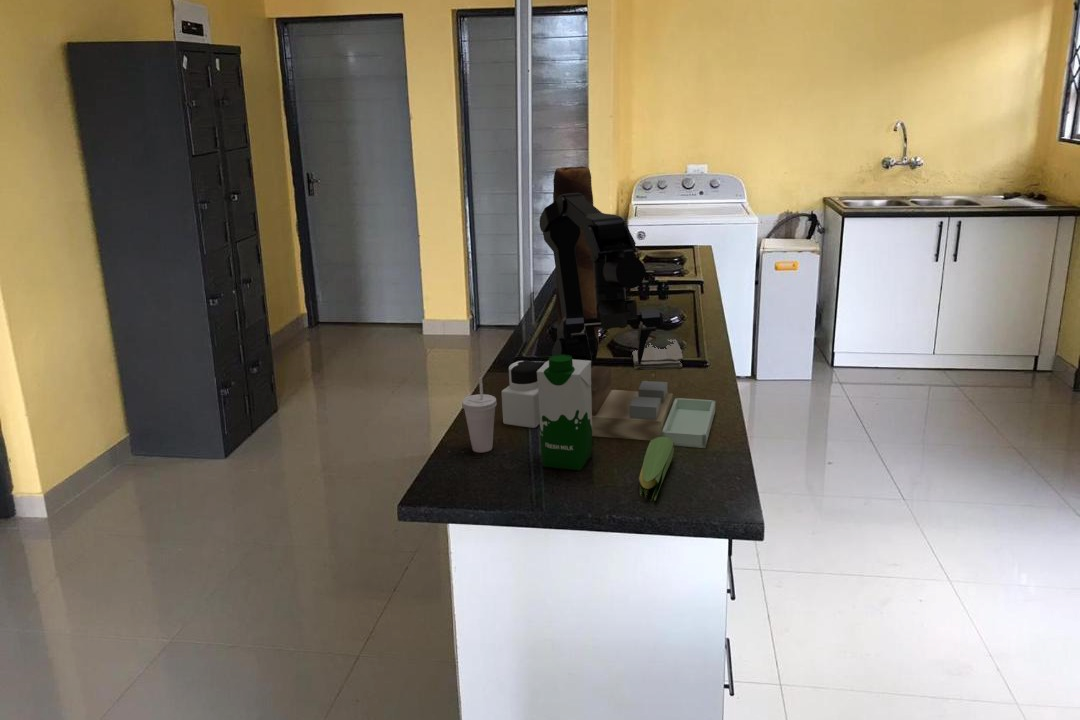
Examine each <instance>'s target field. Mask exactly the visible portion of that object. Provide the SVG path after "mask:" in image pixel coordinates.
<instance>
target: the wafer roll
mask: <svg viewBox="0 0 1080 720" xmlns="http://www.w3.org/2000/svg"><path fill="white" fill-rule="evenodd" d="M591 174H592V173H591V170H590V169H589V167H587V166H569V167H568V166H567V167H565V166H563V167H562V166H561V167H557V168H556V169H555V170H554V174H553V192H552V203H553V202H555V201H556V200H557V198H558V196H561V195H562V194H570V193H580V194H583V195H584V197H585V199H586V200H587V201H588V202H589V203H591V204H592V205H593V206H594V195H593V187H592V175H591ZM580 231H581V235H580V237H579V240H578V242H577V244H576V247H575V252H576V259H577V267H578V274H579V281H580V289H581V296H582V304H583V311H584V316H585V317H586V318H597V310H596V297H595V283H594V269H593V260H591V255H592V252H591V250H590V249H589V247H588V245H587V244H586V242H585V240H584V231H583V230H582V229H581V228H580ZM554 270H556V267H555V269H554ZM555 276H556V280H555V282H556V283H555V285H556V290H555V297H556V309H557V310H556V311H557V319H558V320H557V328H558V327H559V325H560V323H561V321H562V312H561V304H560V297H559V289H558V282H557V275H556V274H555ZM599 328H600V327H594V330H595V335H596V337H597V340H598V348H599V346H600V344H599V343H600V339H599V333H600V332H599V331H600V329H599Z"/></svg>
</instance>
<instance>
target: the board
mask: <svg viewBox="0 0 1080 720" xmlns="http://www.w3.org/2000/svg"><path fill="white" fill-rule="evenodd" d="M635 396H636V397H638V390H636V391H635V390H619V389H611V392H610V393H609V395H608V397H607V398H606V400H605V402H604V403H603V405H602V407H601V408H600V410H599V412H598V413H597V415H596V416H592V437H598V438H613V439H624V440H637V441H638V440H639V441H649V442H650V441H651V440H653V439H655V438H657V437H662V430H663V428H664V425H665V423H666V420H667V418H668V415H669V413H670V410H671V408H672V405H673V403H674V393H670V392H668V394H667V396H666V399H665V401H664V403H661V410H660V413H659V415H658V417H657V420H648V419H634V418H630V404H631V402H632V400H633V398H634V397H635Z"/></svg>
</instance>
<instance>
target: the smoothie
mask: <svg viewBox="0 0 1080 720" xmlns="http://www.w3.org/2000/svg"><path fill="white" fill-rule="evenodd" d="M478 382H479V394H472V395H468V396H466V397H464V398H463V399H462V400H461V407H462V409H464V410H463V411H464V414H465V420H466V423H467V429H468V435H469V439H470V443H471V449H472V451H473V452H474V453H486V452H489V451H491V450H492V449H493V441H494V430H495V429H494V426H495V412H496V411H495V410H496V406H497V398H496V396H494V395H491V394H487V393H486V394H485V393H484V388H483V387H484V385H483V384H484V383H483V377H479V378H478Z"/></svg>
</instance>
